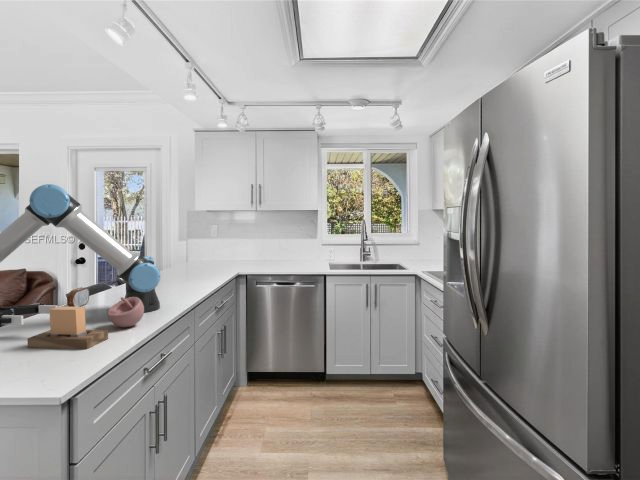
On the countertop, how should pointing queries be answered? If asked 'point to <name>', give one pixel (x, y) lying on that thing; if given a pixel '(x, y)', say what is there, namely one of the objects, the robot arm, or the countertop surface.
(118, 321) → the mortar and pestle
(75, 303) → the tin
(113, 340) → the countertop surface
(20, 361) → the countertop surface
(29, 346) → the wooden compartment tray
